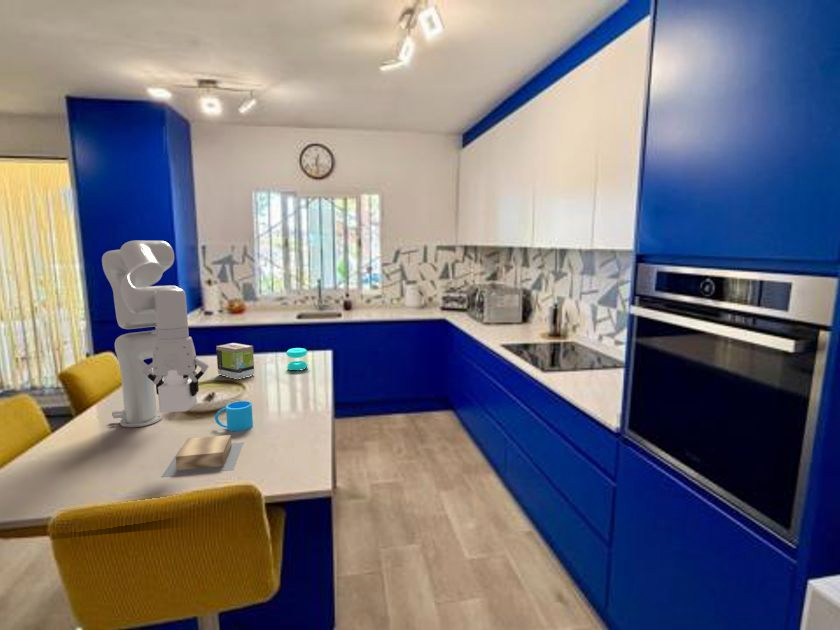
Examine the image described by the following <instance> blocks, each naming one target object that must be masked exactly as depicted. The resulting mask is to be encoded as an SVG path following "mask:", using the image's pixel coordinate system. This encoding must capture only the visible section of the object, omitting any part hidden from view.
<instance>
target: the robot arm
mask: <svg viewBox="0 0 840 630" xmlns="http://www.w3.org/2000/svg"><path fill="white" fill-rule="evenodd" d="M174 262H175V252H174V249H173V247H172V246H171V244H170V243H168V242H167V241H164V240H143V239H142V240H138V239H137V240H135V239H134V240H130V241H127V242H125V243H124V244H122V245H121V247H120V249H115V250H114V249H113V250H108V251H106V252H104V253H103V255H102V256H101V263H102V264H101V265H102V270H103V273H104V275H105V277H106V279H107V280H108V282H109V284H110V286H111V289H112V292H113V293H112V294H113V303H114V309H115V318H116V321H117V325H118V327H120V328H121V329H123V330H124V329H125V330H133V329H134V330H135V329H143V328H154V327H155V329H151V330H147V331H138V332H136V331H135V332H128V333H125V334H121V335H119V336H118V337H117V338H116V339H115V342H114V351H115V354H116V357H117V360H118V361H117V362H118V364H119V365H118V366H119V371H120V372H119V373H120V378H121V388H122V398H123V409H122V410H113V411H112V412H111V417H112V418H113V419H120V422H119V424H120V426H121V427H124V428H140V427H146V426H149V425H154V424H155V423H157V422H160V420H162V419H163V414H162V412H160V411H157V401H156V399H157V398H156V395H158V387H159V386H161V385H162V384H164V383H165V382H164V376H167V375H168V371H170V370H176V371H177V373H178V375H188V376H189V379H191V380H192V382H191V383H190V385H191V396H195V395H196V394H197V393H199V390H200V389H199V380H200V379H201V377H202V376H203V375H204V374H205V373H206V371H207V370H208V368H210V367H209V366H210V365H209V364H207V363H206V362H203V361H202V360H200V359H198V358H197V355H196V349H195V345H194V342H193V341H194V340H193V338H192V336H189V335H190V334H189V333H190V332H189V321H188V308H187V307H188V304H187V295H186V291H185V290H184V289H182V288H180V287H179V286H176V285H170V284H169V285H155V284H156V283H158V282H159V281H160V280H161V278H162V277H163V273H165V272H166V271H167V270H168V269H170V268H172V266H173V264H174ZM153 285H154V286H153ZM147 359H152V362H150V363H149V364H148V363H146V362H145V361H144V360H147ZM198 367H199V368H200V370H199V371H198V373H197V372H196V370H197V369H198ZM155 389H156V390H155Z"/></svg>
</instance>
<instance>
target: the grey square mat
mask: <svg viewBox="0 0 840 630" xmlns="http://www.w3.org/2000/svg"><path fill="white" fill-rule="evenodd" d="M231 445H232V448H231V450H230V452H229V455H228V457H227V460H226V462H225V464H224V466H217V467H207V468H197V469H187V470H177V466H176V455H177V454H178V452H179V451H180V449H181V448H182V447H180V448H179V450H178V451H177V452H176V454H175V456H174V457H173V458H172V460H171V462H170V463H169V464H168V466H167V467H166V469H165V471H164V472H163V474H162V475H161V478H166V477H178V476H187V475H189V476H190V475H198V474H208V473H215V472H216V473H217V472H224V471H225V472H227V471H234V470H235V468H236V465H237V461H238V460H239V456H240V453H241V451H242V448H243V445H244V442H234V443H233V442H231Z"/></svg>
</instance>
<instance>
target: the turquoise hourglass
mask: <svg viewBox="0 0 840 630" xmlns="http://www.w3.org/2000/svg"><path fill="white" fill-rule="evenodd" d="M285 354H286V356H287V357H289V358H291V359H300V358H303V357H305V356H307V355H308V351H307V349H306V348H301V347H295V348H294V347H293V348H290V349H288V350H287V351H286V353H285ZM308 365H309V364H308V363H307V362H306V361H303V360H294V361H291V362H290V361H289V363H288V364H287V366H286V368H287V370H288V369H289V371H290V370H300V369H304V368H306V367H307V366H308ZM307 368H308V367H307ZM307 368H306V369H307Z"/></svg>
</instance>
